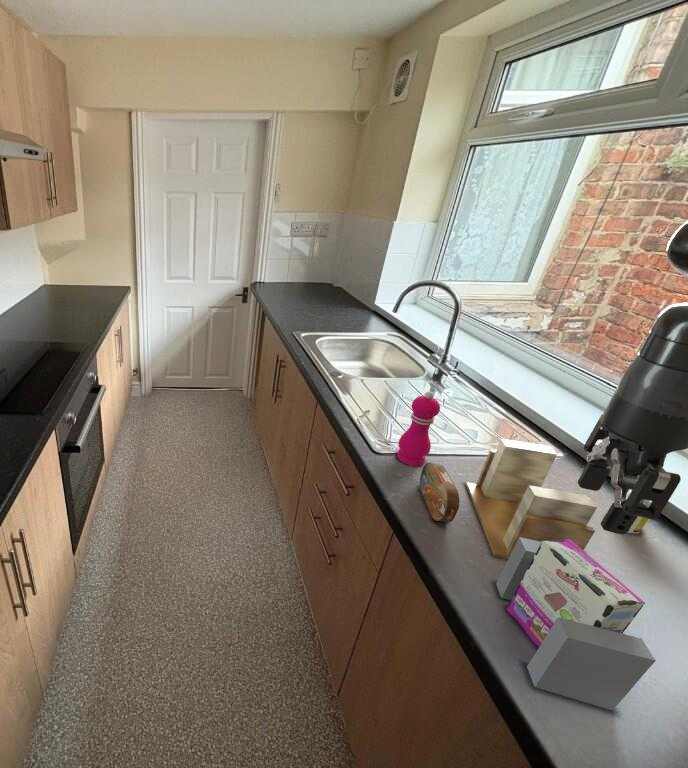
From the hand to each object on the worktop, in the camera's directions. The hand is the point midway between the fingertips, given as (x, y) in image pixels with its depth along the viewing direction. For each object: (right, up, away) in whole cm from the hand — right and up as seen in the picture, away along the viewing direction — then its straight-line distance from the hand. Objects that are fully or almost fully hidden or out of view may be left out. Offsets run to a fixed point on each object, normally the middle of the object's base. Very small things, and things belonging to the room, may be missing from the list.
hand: (598, 507), depth 54 cm
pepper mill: (+6, -4, +55) cm, 55 cm away
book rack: (+17, -14, +34) cm, 41 cm away
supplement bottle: (+39, -14, +33) cm, 54 cm away
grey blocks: (+4, -25, +13) cm, 28 cm away
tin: (+3, -12, +40) cm, 41 cm away
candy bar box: (+4, -25, +13) cm, 28 cm away
